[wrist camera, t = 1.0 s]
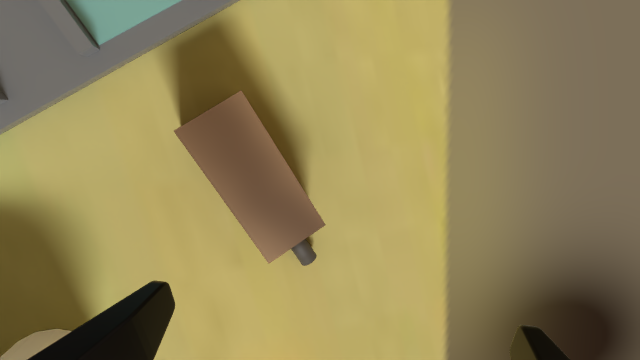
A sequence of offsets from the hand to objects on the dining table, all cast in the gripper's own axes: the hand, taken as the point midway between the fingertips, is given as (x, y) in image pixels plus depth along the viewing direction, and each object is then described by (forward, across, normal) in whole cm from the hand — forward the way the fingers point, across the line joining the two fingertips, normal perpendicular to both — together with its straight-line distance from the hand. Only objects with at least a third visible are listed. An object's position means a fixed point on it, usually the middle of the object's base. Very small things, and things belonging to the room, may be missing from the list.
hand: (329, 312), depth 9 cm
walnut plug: (+13, +7, +5) cm, 16 cm away
